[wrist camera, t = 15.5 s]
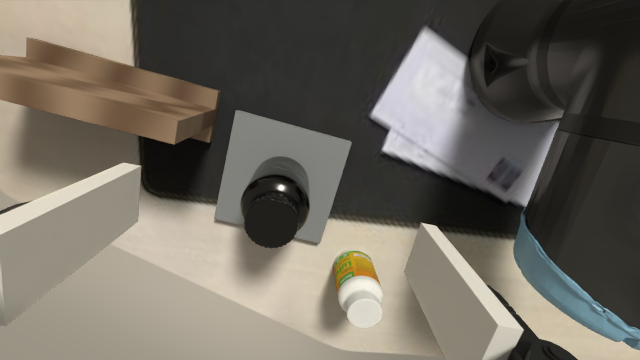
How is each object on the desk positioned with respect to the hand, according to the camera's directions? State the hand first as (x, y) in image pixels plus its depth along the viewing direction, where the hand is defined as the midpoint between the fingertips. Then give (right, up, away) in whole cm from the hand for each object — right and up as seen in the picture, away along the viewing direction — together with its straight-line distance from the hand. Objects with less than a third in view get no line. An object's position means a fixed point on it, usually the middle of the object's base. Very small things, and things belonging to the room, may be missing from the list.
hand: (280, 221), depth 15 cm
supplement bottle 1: (-3, +2, +24) cm, 25 cm away
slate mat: (-3, +2, +25) cm, 25 cm away
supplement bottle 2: (+6, -10, +30) cm, 32 cm away
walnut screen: (-20, +12, +21) cm, 32 cm away
